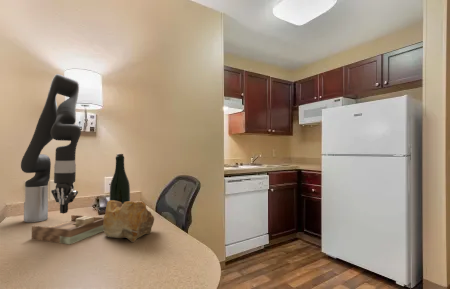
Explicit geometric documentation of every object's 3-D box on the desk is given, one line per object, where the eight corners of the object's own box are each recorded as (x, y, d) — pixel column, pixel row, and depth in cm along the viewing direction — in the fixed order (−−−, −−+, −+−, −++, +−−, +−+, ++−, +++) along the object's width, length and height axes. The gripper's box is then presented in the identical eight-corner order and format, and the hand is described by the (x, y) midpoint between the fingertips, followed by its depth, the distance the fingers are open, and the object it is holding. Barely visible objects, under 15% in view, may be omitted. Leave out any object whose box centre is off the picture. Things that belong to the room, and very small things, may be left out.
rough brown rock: (168, 238, 95) (169, 199, 97) (129, 247, 82) (132, 203, 84) (135, 229, 110) (137, 195, 112) (98, 236, 97) (101, 198, 99)
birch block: (75, 230, 96) (75, 218, 97) (85, 226, 101) (85, 216, 101) (84, 231, 95) (84, 219, 95) (93, 227, 99) (93, 216, 99)
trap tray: (31, 239, 94) (31, 226, 94) (73, 225, 111) (73, 214, 111) (69, 244, 88) (70, 230, 88) (107, 229, 105) (107, 217, 105)
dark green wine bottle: (133, 214, 131) (133, 153, 132) (114, 218, 123) (114, 153, 124) (124, 211, 137) (124, 153, 139) (105, 215, 130) (106, 153, 131)
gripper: (44, 171, 100) (43, 213, 99) (68, 172, 95) (66, 216, 95) (62, 170, 107) (61, 209, 106) (84, 171, 102) (83, 212, 102)
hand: (63, 212), depth 100 cm, fingers closed
